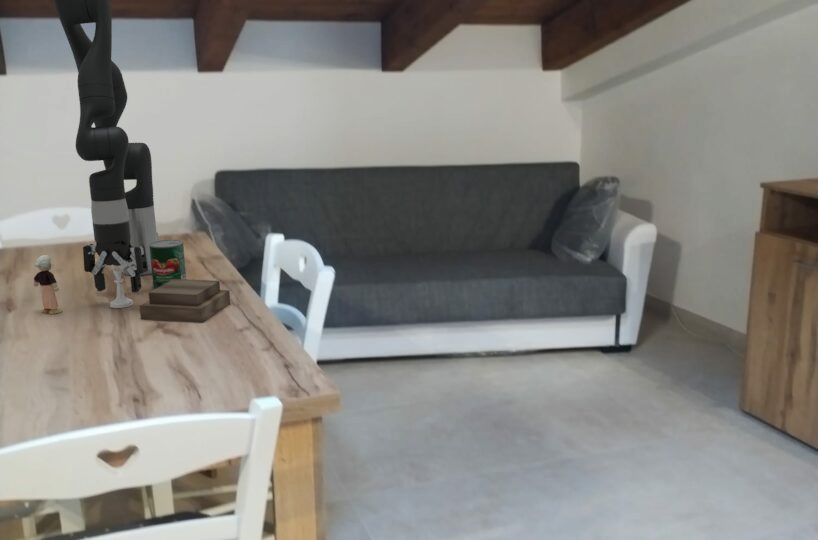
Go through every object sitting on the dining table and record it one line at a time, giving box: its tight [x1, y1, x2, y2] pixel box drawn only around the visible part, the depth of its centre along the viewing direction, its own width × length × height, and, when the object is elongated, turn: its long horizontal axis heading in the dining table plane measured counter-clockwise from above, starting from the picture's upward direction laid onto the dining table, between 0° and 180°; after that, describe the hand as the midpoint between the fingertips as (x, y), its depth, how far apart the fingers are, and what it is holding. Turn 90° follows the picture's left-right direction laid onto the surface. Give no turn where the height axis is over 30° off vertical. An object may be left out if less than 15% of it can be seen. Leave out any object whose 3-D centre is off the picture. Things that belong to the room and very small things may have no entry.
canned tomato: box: [149, 239, 187, 290], centre depth 191 cm, size 8×8×11 cm
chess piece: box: [109, 265, 134, 309], centre depth 178 cm, size 5×5×10 cm
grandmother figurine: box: [33, 254, 63, 315], centre depth 173 cm, size 8×4×13 cm, turn 71°
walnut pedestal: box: [139, 278, 231, 323], centre depth 173 cm, size 14×14×6 cm
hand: (118, 291), depth 178 cm, fingers open, 8 cm apart
